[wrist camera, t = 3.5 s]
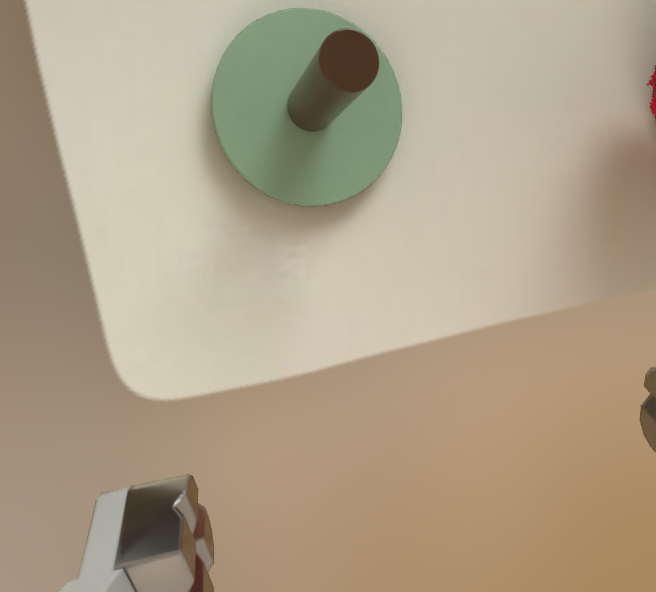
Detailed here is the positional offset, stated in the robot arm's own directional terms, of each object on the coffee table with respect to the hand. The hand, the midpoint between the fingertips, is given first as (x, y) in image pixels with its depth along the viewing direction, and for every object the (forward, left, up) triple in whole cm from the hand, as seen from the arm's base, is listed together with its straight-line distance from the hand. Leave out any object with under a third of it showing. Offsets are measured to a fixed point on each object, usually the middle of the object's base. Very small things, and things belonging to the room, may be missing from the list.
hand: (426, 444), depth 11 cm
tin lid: (0, -11, -20) cm, 23 cm away
